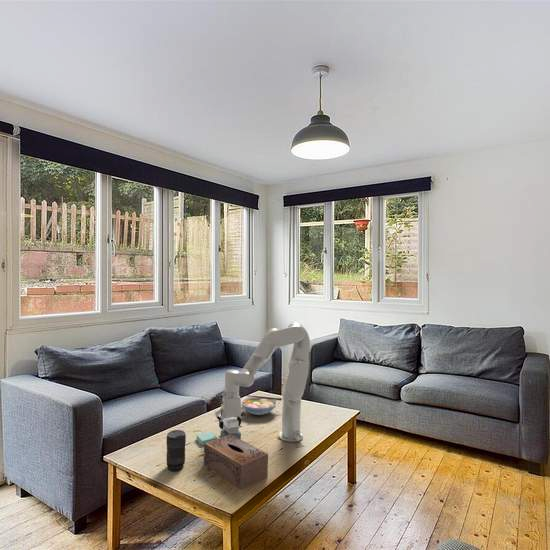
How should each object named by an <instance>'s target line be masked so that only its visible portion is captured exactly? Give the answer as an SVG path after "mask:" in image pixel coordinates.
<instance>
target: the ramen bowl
mask: <svg viewBox="0 0 550 550" xmlns="http://www.w3.org/2000/svg"><path fill="white" fill-rule="evenodd" d="M244 396H245V397H244ZM240 399H241V407H243V408H245V409H246V411H245V412H247V413H249V414H251V415H254V416H263V415H266V414H269V413H271V412H272V411H273V410H274V409H275V408H276V406H277V404H278V401H283V397H281V398H280V397H271V396H268V395H259V394H257V395H247V394H243V398H240Z"/></svg>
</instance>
